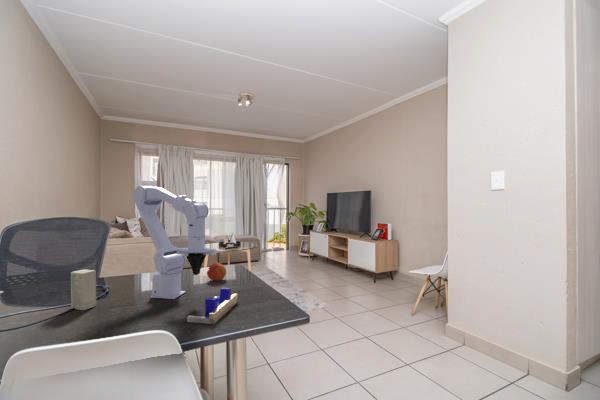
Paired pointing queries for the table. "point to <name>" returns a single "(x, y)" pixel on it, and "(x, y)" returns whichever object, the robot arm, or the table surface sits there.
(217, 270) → the fruit
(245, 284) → the table surface
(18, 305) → the table surface
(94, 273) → the skincare box
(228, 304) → the frame
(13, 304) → the table surface
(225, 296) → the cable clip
